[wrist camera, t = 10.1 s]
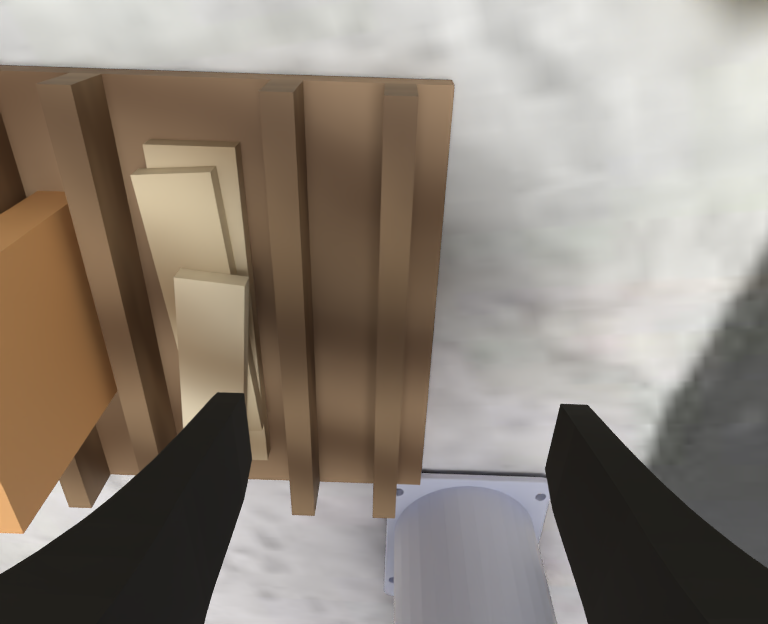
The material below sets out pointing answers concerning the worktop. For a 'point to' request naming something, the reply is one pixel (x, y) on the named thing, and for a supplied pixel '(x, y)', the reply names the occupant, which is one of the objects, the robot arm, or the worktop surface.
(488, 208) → the worktop surface
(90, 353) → the orange square slab
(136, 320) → the rack
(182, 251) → the offcut stack
